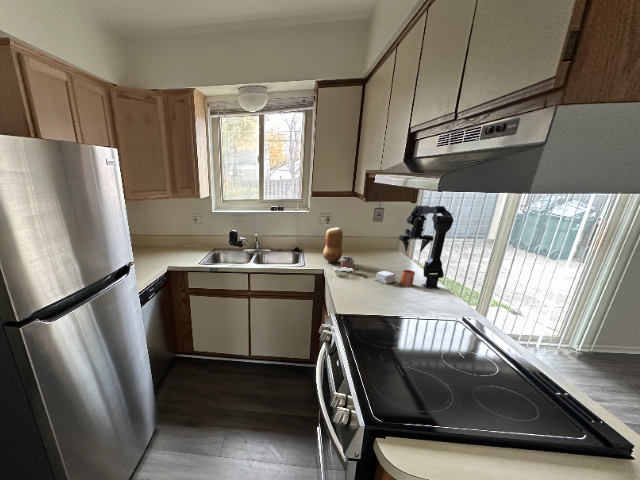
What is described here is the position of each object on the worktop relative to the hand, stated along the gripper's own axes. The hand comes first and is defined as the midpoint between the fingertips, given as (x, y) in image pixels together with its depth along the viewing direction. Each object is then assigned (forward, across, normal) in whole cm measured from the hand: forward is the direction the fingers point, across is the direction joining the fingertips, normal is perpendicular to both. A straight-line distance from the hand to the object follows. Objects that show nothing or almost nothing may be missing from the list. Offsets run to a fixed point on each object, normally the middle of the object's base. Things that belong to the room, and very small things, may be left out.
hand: (413, 251), depth 202 cm
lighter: (+14, +39, -3) cm, 42 cm away
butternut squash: (+14, +45, -25) cm, 53 cm away
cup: (+14, +11, +23) cm, 29 cm away
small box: (+15, +21, +17) cm, 31 cm away
